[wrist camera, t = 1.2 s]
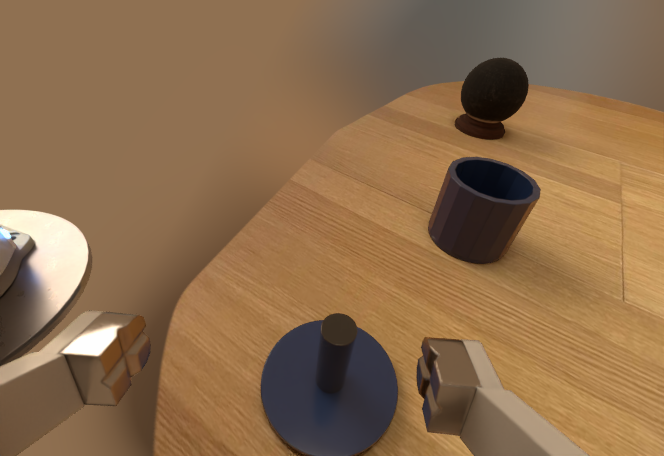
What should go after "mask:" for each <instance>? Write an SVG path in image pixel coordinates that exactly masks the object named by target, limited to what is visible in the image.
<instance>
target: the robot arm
mask: <svg viewBox="0 0 664 456" xmlns="http://www.w3.org/2000/svg"><path fill="white" fill-rule="evenodd" d="M34 244H35V241H34V240H33V239H32V238H31V236H30V235H28V234H25V233H22V232H20V231H17V230H14V229H11V228H8V227H5V226H3V225H0V297H1V296H2V295H3V294H4V293H5V291H6V290H7V289H8V288H9V287H10V286H11V284H12V283H13V281H14V280H15V278H16V276H17V274H18V271H19V267H20V263H21V261H22V259H23V258H24V257H25V256H26V254H27V253H28V252H29V251H30V250H31V249H32V248H33V246H34ZM145 327H146V323H145V320H144V317H142V316H140V315H133V314H123V313H113V312H98V311H87V312H84V313H82V314H81V315H80V316H79V317H78V318H76V319H75V320H74V321H73V322H72V323H71V324H70V325H69V326H68V327H66V328H65V329H64V330H63V331H62V332H61V333H60V334H59V335H57V336H56V337H55V338H54V339H53V340H52V341H51V342H50V343H48V345H46V346H45V347H44V348H43V349H42V350H41V351H40V352H38V353H37V352H32V353H30V354H27V355H25V356H23V357H21V358H18V359H16V360H14V361H12V362H10V363H7V364H5V365H3V366H1V367H0V456H17V455H18V454H19V453H21V452H22V451H23V450H25V449H26V448H28V447H29V446H30V445H32V444H33V443H34V442H35V441H37V440H39V439H40V438H41V437H43V436H44V435H46V434H47V433H48V432H49V431H51V430H52V429H54V428H55V427H57V426H58V425H59V424H61V423H62V422H63V421H65V420H66V419H68V418H69V417H70V416H72V415H73V414H75V413H76V412H77V411H79V410H80V409H81V408H83V407H84V404H86V405H106V406H117V404H118V403H119V401H120V400H121V398H122V397H123V396H124V395H125V393H126V392H127V390H128V389H129V387H130V386H131V377H132V376H134V375H135V374H137V373H139V372H140V371H141V370H142V369H143V367H144V366H145V364H146V363H147V360H148V357H149V354H150V346H151V344H150V340H149V337H148V336H147V335H146V334H145V333H144V332H143V330H144V328H145ZM421 348H422V352H423V356H422V357H420V358H419V359H418V365H417V386H418V391H419V394H420V395H421V396H422V397H423V398H424V403H423V407H422V410H423V414H424V419H425V423H426V428H427V432H431V433H440V434H449V435H457V436H460V438H461V440H462V441H463V442H464V444H465V445H466V446H467V447H468V449H469V450H470V451H471V452H472V454H473V455H474V456H589V455H588V454H587V453H586V452H585V451H583V450H582V449H581V448H580V447H579V446H577V445H576V444H575V443H574V442H572V441H571V440H570V439H569V438H568V437H566V436H565V435H564V434H563V433H562V432H560V431H559V430H558V429H557V428H555V427H554V426H553V425H552V424H551V423H549V422H548V421H547V420H546V419H544V418H543V417H542V416H541V415H540V414H538V413H537V412H536V411H535V410H534V409H532V408H531V407H530V406H529V405H527V404H526V403H525V402H524V401H523V400H521V399H520V398H519V397H518V396H517V395H515V394H514V393H513V392H512V391H510V390H504V387H503V385H502V383H501V381H500V379H499V377H498V375H497V373H496V371H495V369H494V367H493V365H492V363H491V361H490V359H489V357H488V355H487V353H486V351H485V349H484V347H483V345H482V343H481V342H480V341H478V340H462V339H461V340H459V339H445V338H430V337H425V338H424V340H423V342H422V346H421Z"/></svg>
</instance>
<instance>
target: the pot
mask: <svg viewBox="0 0 664 456" xmlns="http://www.w3.org/2000/svg"><path fill="white" fill-rule="evenodd" d="M540 190H541V189H540V188H539V186H538V185H537V183H536V182H535V180H534V179H532V178H531V177H530V176H529V175H527V174H526V173H525V172H523V171H521V170H519V169H517V168H515V167H513V166H511V165H509V164H506V163H503V162H500V161H496V160H493V159H488V158H481V157H465V158H460V159H458V160H455V161H453V162H452V163H451V165H450V166H449V168H448V171H447V174H446V176H445V179H444V182H443V185H442V187H441V190H440V193H439V196H438V199H437V201H436V204H435V207H434V210H433V212H432V215H431V218H430V221H429V226H428V231H429V234H430V237H431V238H432V240H433V241H434V242H435V244H436V245H437V246H438V247H439V248H441V249H442V250H443V251H445V252H446V253H448V254H449V255H451V256H453V257H455V258H458V259H460V260H463V261H467V262H471V263H478V264H486V263H492V262H495V261H498V260H499V259H501V258H502V257H503V256H504V254H505V253H506V252H507V251H508V249H509V247H510V246H511V244H512V242H513V241H514V239H515V237H516V236H517V234H518V232H519V231H520V229H521V227H522V226H523V224H524V222H525V221H526V219H527V217H528V216H529V214H530V212H531V211H532V209H533V207H534V206H535V204H536V202H537V201H538V199H539V198H540Z"/></svg>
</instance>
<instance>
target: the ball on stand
mask: <svg viewBox="0 0 664 456" xmlns="http://www.w3.org/2000/svg"><path fill="white" fill-rule="evenodd" d="M527 93H528V78H527V75H526V72H525V71H524V69H523V68H522V67H521V66H520V65H519V64H518V63H516V62H515V61H513V60H511V59H507V58H494V59H490V60H487V61H485V62H483V63H481V64H479V65H478V66H477V67H475V68H474V69H473V70H472V71H471V72H470V73H469V75H468V76H467V78H466V79H465V81H464V84H463V86H462V91H461V102H462V106H463V108H464V110H465V112H466V114H463V115H461V116H460V117H459V118H457V119H456V121H455V127H456V128H457V129H458V130H460V131H461V132H463V133H465V134H468V135H470V136H473V137H477V138H482V139H499V138H502V137H503V136H504V133H505V129H504V125H503V124H502V123H501V121H503V120H506V119H507V118H509V117H511V116H512V115H513V114H514V113H516V112H517V111H518V110H519V108H520V107H521V106H522V104H523V103H524V101H525V98H526V96H527Z"/></svg>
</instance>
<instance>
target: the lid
mask: <svg viewBox="0 0 664 456" xmlns="http://www.w3.org/2000/svg"><path fill="white" fill-rule="evenodd" d="M261 397H262V403H263V407H264V410H265V414H266V416H267V418H268V420H269V422H270V424H271V426H272V427H273V429H274V430H275V432H276V433H277V434H278V436H279V437H280V438H281V439H282V440H283V441H284V442H285V443H287V444H288V445H289V446H290V447H291V448H293V449H295V450H296V451H298V452H300V453H302V454H304V455H307V456H355V455H358V454H360V453H362V452H364V451H365V450H367V449H369V448H370V447H371V446H372V445H374V444H375V443H376V442H377V441H378V440H379V439H380V438H381V437H382V436H383V434H384V433H385V431H386V430H387V428H388V426H389V424H390V422H391V420H392V418H393V416H394V413H395V409H396V405H397V398H398V386H397V379H396V374H395V371H394V368H393V365H392V363H391V361H390V359H389V357H388V355H387V353H386V352H385V350H384V349H383V348H382V346H381V345H380V344H379V343H378V342H377V341H376V340H375V339H374V338H373V337H372V336H371V335H369V334H368V333H367V332H365V331H363V330H362V329H360V328H358V327H357V326H356V324H355V322H354V321H353V319H352V318H350V317H349V316H347V315H345V314H340V313H336V314H331V315H329V316H327V317H326V318H325V319H324V320H319V321H313V322H309V323H306V324H303V325H300V326H298V327H296V328H294V329H293V330H291V331H290V332H288V333H287V334H286V335H284V336H283V337H282V338H281V339H280V340H279V341H278V342H277V343H276V345H275V346H274V347H273V349H272V350H271V352H270V354H269V356H268V357H267V359H266V362H265V365H264V368H263V372H262V377H261Z"/></svg>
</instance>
